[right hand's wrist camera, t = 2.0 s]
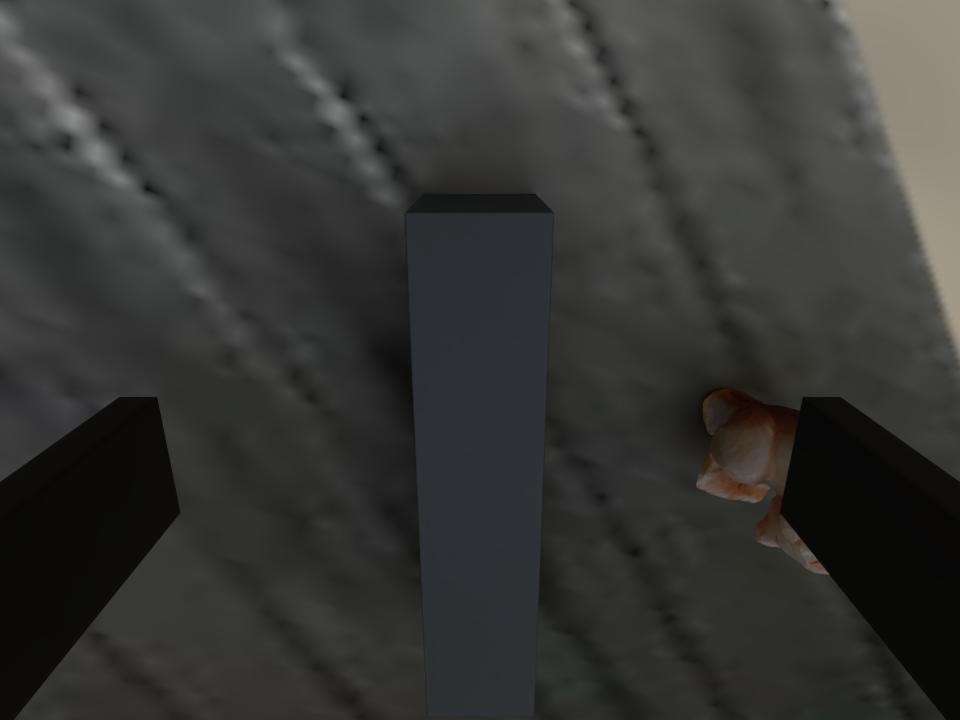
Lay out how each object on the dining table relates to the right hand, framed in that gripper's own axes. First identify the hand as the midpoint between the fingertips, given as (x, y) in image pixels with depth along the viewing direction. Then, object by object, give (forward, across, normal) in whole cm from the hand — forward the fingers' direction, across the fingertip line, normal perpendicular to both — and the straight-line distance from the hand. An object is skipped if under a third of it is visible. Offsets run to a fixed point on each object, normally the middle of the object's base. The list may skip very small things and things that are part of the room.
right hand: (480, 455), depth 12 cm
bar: (+20, 0, -10) cm, 22 cm away
